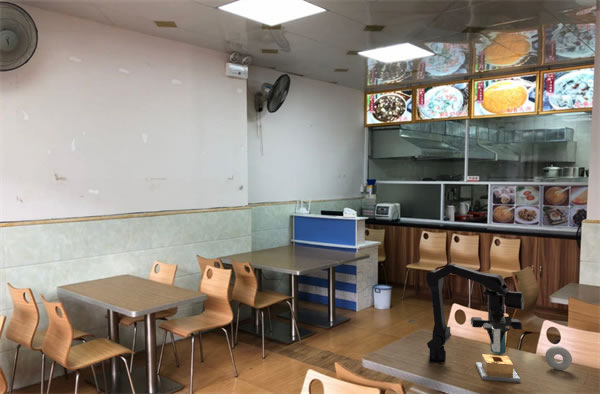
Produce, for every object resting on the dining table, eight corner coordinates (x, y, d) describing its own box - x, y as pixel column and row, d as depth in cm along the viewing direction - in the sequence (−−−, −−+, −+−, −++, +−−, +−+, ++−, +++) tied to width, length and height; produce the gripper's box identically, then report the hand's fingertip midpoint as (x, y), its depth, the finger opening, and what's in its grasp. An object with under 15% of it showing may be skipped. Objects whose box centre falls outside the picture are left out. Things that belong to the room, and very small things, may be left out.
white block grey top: (493, 351, 186) (493, 329, 186) (491, 348, 190) (491, 326, 190) (500, 352, 186) (499, 329, 186) (497, 348, 190) (497, 326, 190)
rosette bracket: (482, 379, 183) (482, 364, 183) (475, 364, 198) (475, 350, 198) (520, 382, 180) (520, 367, 180) (510, 367, 195) (510, 353, 195)
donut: (571, 370, 192) (571, 346, 192) (572, 373, 189) (573, 349, 188) (544, 366, 196) (544, 343, 196) (545, 369, 193) (545, 345, 192)
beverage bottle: (507, 358, 205) (507, 313, 205) (491, 356, 207) (492, 312, 206) (503, 352, 212) (504, 309, 211) (488, 351, 213) (489, 308, 212)
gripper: (474, 310, 182) (475, 349, 182) (525, 312, 178) (525, 352, 178) (470, 303, 193) (470, 340, 193) (518, 305, 189) (518, 342, 189)
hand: (495, 343), depth 188 cm, fingers closed on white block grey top, 2 cm apart
